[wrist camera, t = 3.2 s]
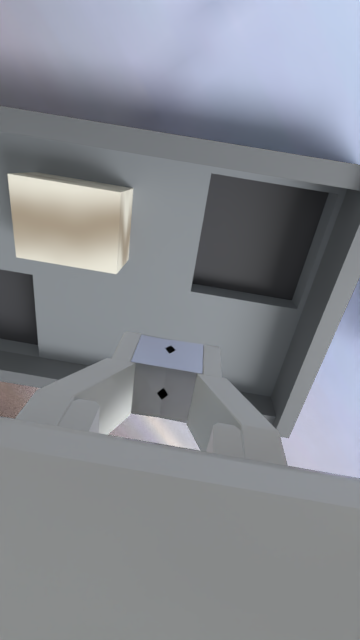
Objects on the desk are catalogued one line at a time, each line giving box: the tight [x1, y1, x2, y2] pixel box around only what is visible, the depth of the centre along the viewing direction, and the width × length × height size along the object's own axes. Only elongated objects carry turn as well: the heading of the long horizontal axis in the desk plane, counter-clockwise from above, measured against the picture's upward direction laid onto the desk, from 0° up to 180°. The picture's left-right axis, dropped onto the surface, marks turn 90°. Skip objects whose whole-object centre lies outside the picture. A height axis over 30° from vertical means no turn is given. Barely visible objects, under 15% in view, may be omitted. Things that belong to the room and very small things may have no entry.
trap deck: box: [0, 106, 360, 438], centre depth 28 cm, size 24×54×6 cm, turn 82°
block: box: [7, 172, 133, 274], centre depth 24 cm, size 6×8×4 cm
